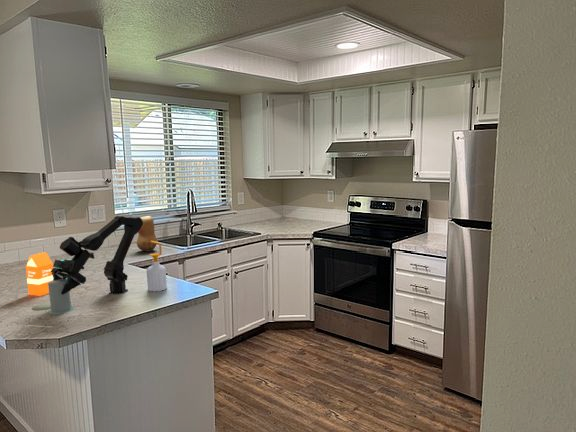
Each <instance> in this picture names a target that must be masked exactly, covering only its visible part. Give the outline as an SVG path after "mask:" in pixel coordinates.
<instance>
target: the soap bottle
mask: <svg viewBox="0 0 576 432" xmlns="http://www.w3.org/2000/svg"><path fill="white" fill-rule="evenodd" d="M151 242H152V243H156V244H157V245H158V247H159V252H157V253H150V254H149V256H150V257H152V258H153V259H152V260H151V265H150V266H148V268H147V270H146V279H147V281H146V282H147V290H148V291H149V292H152V291H153V292H155V293H156V291H157V292H162V290H163V291H165V290H166V289H168V286H167V282H168V281H167V271H166V270H167V269H166V267H165V266H164V265H162V264H160V259H158V257H159V256H161V255H162V245H161V243H160V242H159V241H158V240H157V241H151Z"/></svg>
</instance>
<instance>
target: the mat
mask: <svg viewBox="0 0 576 432" xmlns="http://www.w3.org/2000/svg"><path fill="white" fill-rule="evenodd" d="M50 309H51V305H50V302H46V303H45V302H44V303H41V304H40V303H39V304H36V305H34V306H32V308H31V310H33V311H38V312H39V311H47V310H50Z"/></svg>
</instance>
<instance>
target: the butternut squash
mask: <svg viewBox="0 0 576 432" xmlns="http://www.w3.org/2000/svg"><path fill="white" fill-rule="evenodd" d="M140 218H141V219H142V221H143V226H142V227H141V229H140V231H139V232H138V233H137V234H138V236H137V240H136V246H137V248H138V249H139V250H141V251H143V252H151V251H153V250H154V249H156V247H157V245H158V244H156V243H152V242H151V241H157V242H158V240H157V237H156V234H155V233H156V232H155V223H154V222H155V220H154V218H153V217H152V216H151V215H147V216H146V215H145V216H142V217H140Z"/></svg>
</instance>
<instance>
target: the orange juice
mask: <svg viewBox="0 0 576 432" xmlns="http://www.w3.org/2000/svg"><path fill="white" fill-rule="evenodd" d="M53 265H54V262H53V261H52V260H51V257H49V255H48V253H47V252H46V251H43V252H40V253H36V254H31V255H30V256H29V258H28V260H27V263H26V265H25V271H26V272H25V273H26V282H27V290H28V296H38V297H42V296H44V295H48V294H49V288H48V283H49V282H50V281H53V275H52V273H51V270H52V269H53V268H54V267H53Z"/></svg>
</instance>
